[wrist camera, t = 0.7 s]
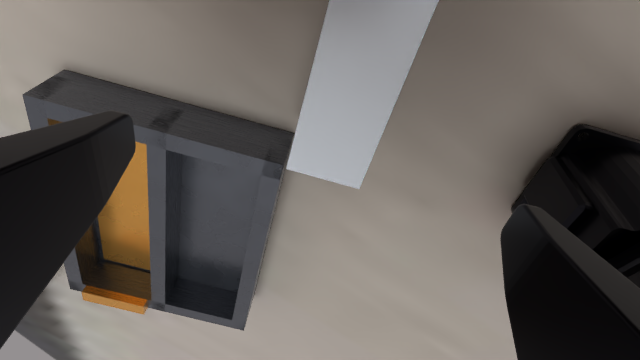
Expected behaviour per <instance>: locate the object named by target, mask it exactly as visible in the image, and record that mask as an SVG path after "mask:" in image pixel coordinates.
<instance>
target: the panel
mask: <svg viewBox="0 0 640 360" xmlns="http://www.w3.org/2000/svg"><path fill="white" fill-rule="evenodd" d="M438 1H439V0H329V4H328V8H327V12H326V16H325V19H324V23H323V27H322V31H321V35H320V39H319V43H318V47H317V51H316V54H315V58H314V62H313V66H312V70H311V74H310V78H309V82H308V85H307V89H306V93H305V97H304V101H303V105H302V109H301V113H300V117H299V120H298V124H297V128H296V132H295V136H294V140H293V144H292V148H291V152H290V155H289V159H288V163H287V167H286V169H288V170H292V171H295V172H299V173H303V174H306V175H310V176H313V177H317V178H321V179H324V180H328V181H332V182H335V183H339V184H342V185H346V186H350V187H353V188H357V189H359V188H360V186H361V184H362V181H363V179H364V176H365V174H366V172H367V169H368V167H369V165H370V162H371V160H372V158H373V155H374V153H375V150H376V148H377V146H378V143H379V141H380V139H381V136H382V134H383V131H384V129H385V127H386V124H387V122H388V120H389V117H390V115H391V113H392V110H393V108H394V105H395V103H396V101H397V98H398V96H399V94H400V91H401V89H402V86H403V84H404V82H405V79H406V77H407V75H408V72H409V70H410V68H411V65H412V63H413V60H414V58H415V56H416V53H417V51H418V49H419V46H420V44H421V41H422V39H423V37H424V34H425V32H426V30H427V27H428V25H429V23H430V20H431V18H432V15H433V13H434V11H435V8H436V6H437V4H438Z"/></svg>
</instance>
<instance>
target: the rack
mask: <svg viewBox="0 0 640 360" xmlns="http://www.w3.org/2000/svg"><path fill="white" fill-rule="evenodd" d="M23 99H24V103H25V107H26V111H27V115H28V119H29V123H30V127H31V130H34V129H38V128H42V127H46V126H50V125H54V124H58V123H62V122H66V121H70V120H74V119H78V118H82V117H86V116H90V115H94V114H98V113H102V112H106V111H110V110H113V111H118V112H122V113H126V114H129V115H130V116H131V118H132V120H133V127H134V135H135V143H136V149H135V153H134V155H133V157H132V159H131V161H130V163H129V165H128V166H127V168H126V170H125V172H124V173H123V175H122V177H121V179H120V181H119V182H118V184H117V186H116V188H115V189H114V191H113V193H112V195H111V197H110V198H109V200H108V202H107V203H106V205H105V206H104V208H103V209H102V211H101V212H100V214H99V215H98V216H97V218H96V219H95V221H94V222H93V223H92V225H91V226H90V227H89V229H88V230H87V231H86V233H85V234H84V236H83V237H82V238H81V240H80V241H79V242H78V244H77V245H76V246H75V248H74V249H73V251H72V252H71V253H70V255H69V256H68V257H67V259H66V260H65V261H64V265H65V269H66V273H67V277H68V281H69V285H70V289H73V290H77V291H81V292H82V296H83V300H85V301H90V302H94V303H98V304H102V305H106V306H111V307H115V308H119V309H123V310H127V311H131V312H136V313H140V314H144V313H145V311H146V309H147V308H152V309H156V310H161V311H165V312H169V313H173V314H177V315H181V316H186V317H190V318H194V319H198V320H202V321H206V322H210V323H215V324H219V325H223V326H227V327H231V328H235V329H240V330H244V328H245V324H246V321H247V317H248V314H249V310H250V307H251V303H252V300H253V297H254V293H255V289H256V285H257V281H258V277H259V273H260V269H261V264H262V260H263V256H264V252H265V248H266V244H267V240H268V236H269V232H270V228H271V224H272V220H273V216H274V212H275V208H276V204H277V200H278V196H279V192H280V188H281V184H282V179H283V175H284V171H285V167H286V163H287V159H288V155H289V151H290V147H291V143H292V139H293V135H294V133H291V132H288V131H284V130H280V129H277V128H273V127H269V126H266V125H262V124H259V123H255V122H251V121H248V120H244V119H241V118H237V117H233V116H230V115H226V114H223V113H219V112H215V111H212V110H208V109H204V108H201V107H197V106H194V105H190V104H186V103H183V102H179V101H176V100H172V99H168V98H165V97H161V96H158V95H154V94H150V93H147V92H143V91H139V90H136V89H132V88H129V87H125V86H121V85H118V84H114V83H111V82H107V81H103V80H100V79H96V78H93V77H89V76H85V75H82V74H78V73H74V72H71V71H67V70H63V71H61V72H59V73H58V74H56V75H54V76H53V77H51V78H49V79H48V80H46V81H44V82H43V83H41V84H39V85H38V86H36V87H34V88H33V89H31V90H29V91H28V92H26V93H24V94H23Z"/></svg>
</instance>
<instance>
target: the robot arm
mask: <svg viewBox="0 0 640 360" xmlns="http://www.w3.org/2000/svg"><path fill="white" fill-rule="evenodd" d="M581 133H585V134H584V135H583V136H581V137H578V135H580V134H581ZM135 149H136V143H135V135H134V127H133V120H132V118H131V116H130V115H129V114H126V113H122V112H118V111H113V110H110V111H106V112H102V113H98V114H94V115H90V116H86V117H82V118H78V119H74V120H70V121H66V122H62V123H58V124H54V125H50V126H46V127H42V128H38V129H34V130H30V131H26V132H22V133H18V134H14V135H10V136H6V137H2V138H0V349H1V347H2V346H3V345H4V343H5V342H6V341H7V339H8V338H9V337H10V335H11V334H12V332H13V331H14V330H15V328H16V327H17V326H18V324H19V323H20V322H21V320H22V319H23V317H24V316H25V315H26V313H27V312H28V311H29V309H30V308H31V307H32V305H33V304H34V302H35V301H36V300H37V298H38V297H39V296H40V294H41V293H42V292H43V290H44V289H45V287H46V286H47V285H48V283H49V282H50V281H51V279H52V278H53V276H54V275H55V274H56V272H57V271H58V270H59V268H60V267H61V266H62V264H63V263H64V261H65V260H66V259H67V257H68V256H69V255H70V253H71V252H72V251H73V249H74V248H75V246H76V245H77V244H78V242H79V241H80V240H81V238H82V237H83V236H84V234H85V233H86V231H87V230H88V229H89V227H90V226H91V225H92V223H93V222H94V221H95V219H96V218H97V216H98V215H99V214H100V212H101V211H102V209H103V208H104V206H105V205H106V203H107V202H108V200H109V198H110V197H111V195H112V193H113V191H114V189H115V188H116V186H117V184H118V182H119V181H120V179H121V177H122V175H123V173H124V172H125V170H126V168H127V166H128V165H129V163H130V161H131V159H132V157H133V155H134V153H135ZM511 211H512V215H511V217H510V218H509V220H508V221H507V223H506V224H505V226H504V227H503V229H502V232H501V251H502V264H503V277H504V289H505V297H506V303H507V308H508V313H509V318H510V323H511V328H512V333H513V338H514V343H515V348H516V353H517V358H518V360H640V140H636V139H633V138H629V137H626V136H623V135H619V134H616V133H612V132H609V131H606V130H602V129H599V128H595V127H592V126H588V125H583V124H582V125H578V126H576V127H574V128H573V129H572V130H571V131H570V132H569V133H568V135H567V136H566V137H565V139H564V140H563V141H562V143H561V144H560V145H559V146H558V148H557V149H556V150H555V152H554V153H553V154H552V156H551V157H550V158H549V159H547V161H546V162H545V163H544V165H543V166H542V167H541V168H540V170H539V171H538V172H537V174H536V175H535V176H534V178H533V179H532V180H531V182H530V183H529V184H528V186H527V187H526V188H525V189H524V191H523V193H522V195H521V196H520V197H519V199H518V200H517V201H516V203H515V204H514V205H513V207H512V209H511Z"/></svg>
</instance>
